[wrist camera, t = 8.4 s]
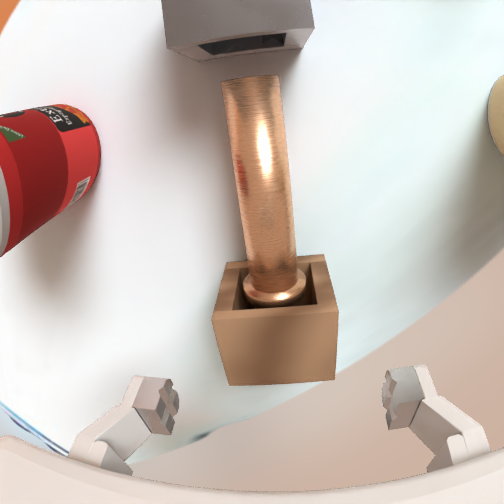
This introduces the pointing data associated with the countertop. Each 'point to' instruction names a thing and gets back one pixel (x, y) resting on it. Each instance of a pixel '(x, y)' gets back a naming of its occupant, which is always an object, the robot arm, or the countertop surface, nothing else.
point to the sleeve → (235, 26)
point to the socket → (277, 330)
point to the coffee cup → (497, 114)
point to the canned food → (43, 167)
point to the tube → (263, 190)
